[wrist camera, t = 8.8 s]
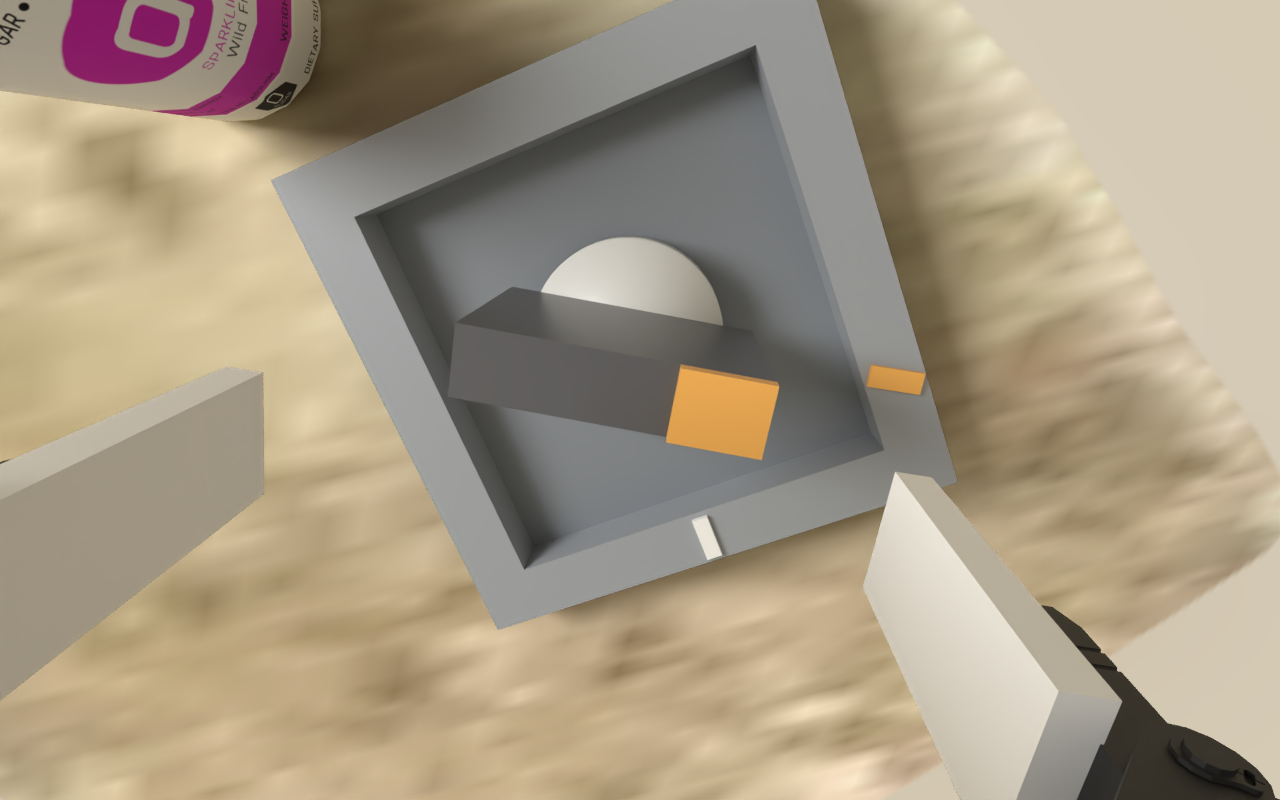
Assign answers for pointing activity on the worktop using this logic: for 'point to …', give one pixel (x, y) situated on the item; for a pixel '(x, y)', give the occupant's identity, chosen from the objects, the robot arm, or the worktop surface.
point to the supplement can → (162, 53)
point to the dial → (621, 350)
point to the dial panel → (643, 206)
